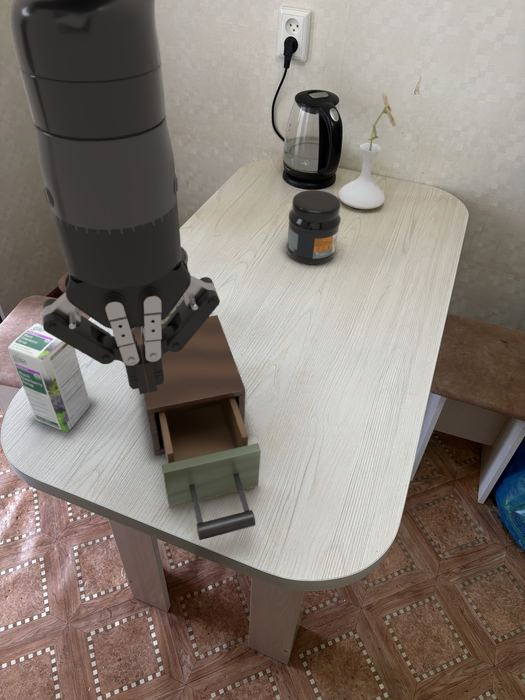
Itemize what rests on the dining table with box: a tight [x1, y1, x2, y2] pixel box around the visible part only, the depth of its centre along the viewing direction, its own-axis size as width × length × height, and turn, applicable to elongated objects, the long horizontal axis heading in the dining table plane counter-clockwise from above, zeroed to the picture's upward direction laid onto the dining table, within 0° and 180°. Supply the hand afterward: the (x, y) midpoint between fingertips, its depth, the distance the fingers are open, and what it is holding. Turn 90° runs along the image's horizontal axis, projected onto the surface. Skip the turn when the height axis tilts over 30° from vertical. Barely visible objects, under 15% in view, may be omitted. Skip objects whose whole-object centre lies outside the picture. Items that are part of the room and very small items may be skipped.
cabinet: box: [133, 314, 247, 456], centre depth 73 cm, size 16×13×10 cm
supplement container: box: [286, 189, 342, 265], centre depth 104 cm, size 10×10×12 cm
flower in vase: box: [338, 90, 397, 210], centre depth 118 cm, size 13×11×25 cm
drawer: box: [157, 397, 262, 541], centre depth 64 cm, size 22×12×8 cm, turn 17°
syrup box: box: [7, 322, 91, 433], centre depth 69 cm, size 6×6×14 cm
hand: (146, 385), depth 43 cm, fingers closed
